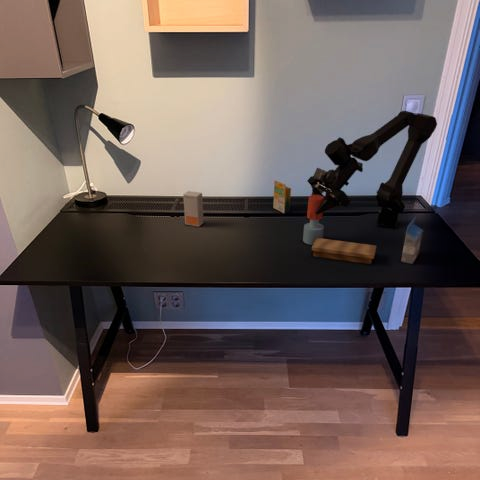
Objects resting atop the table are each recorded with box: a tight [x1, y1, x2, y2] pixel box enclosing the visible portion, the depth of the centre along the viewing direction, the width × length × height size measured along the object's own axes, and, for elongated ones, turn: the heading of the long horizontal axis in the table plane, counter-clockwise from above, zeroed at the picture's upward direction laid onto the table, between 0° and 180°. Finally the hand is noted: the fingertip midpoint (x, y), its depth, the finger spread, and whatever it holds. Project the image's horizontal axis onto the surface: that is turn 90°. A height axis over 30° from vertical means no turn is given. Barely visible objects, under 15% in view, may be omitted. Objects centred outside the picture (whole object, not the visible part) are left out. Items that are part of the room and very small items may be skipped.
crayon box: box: [272, 180, 292, 214], centre depth 183 cm, size 7×3×12 cm, turn 34°
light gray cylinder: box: [302, 219, 325, 246], centre depth 160 cm, size 7×7×8 cm
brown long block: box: [311, 238, 378, 265], centre depth 151 cm, size 20×8×4 cm, turn 71°
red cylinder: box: [306, 194, 325, 221], centre depth 155 cm, size 5×5×7 cm
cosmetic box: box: [182, 190, 205, 228], centre depth 172 cm, size 6×4×12 cm
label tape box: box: [400, 216, 424, 265], centre depth 147 cm, size 9×4×12 cm, turn 148°
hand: (311, 211), depth 155 cm, fingers closed on red cylinder, 5 cm apart
